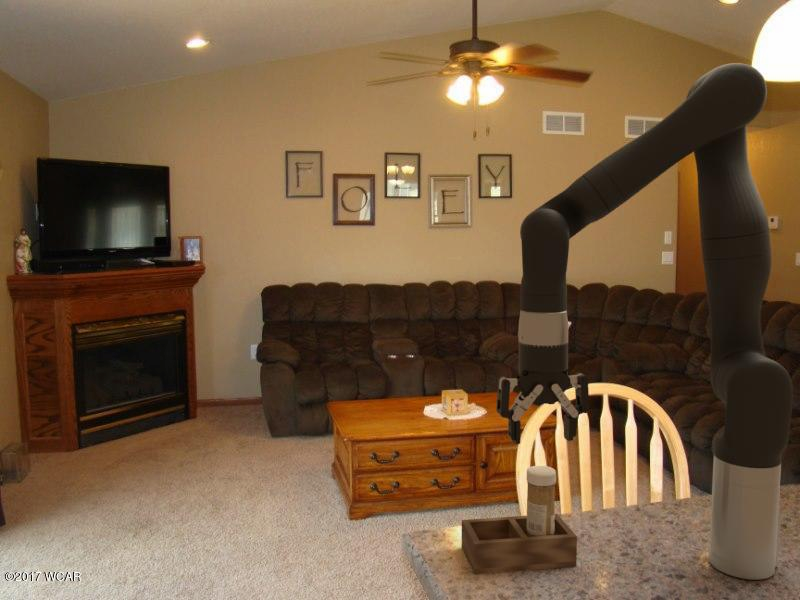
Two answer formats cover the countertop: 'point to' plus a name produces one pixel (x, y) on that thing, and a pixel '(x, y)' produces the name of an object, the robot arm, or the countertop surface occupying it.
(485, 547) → the spice caddy
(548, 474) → the sprinkles bottle
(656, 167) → the robot arm
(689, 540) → the countertop surface
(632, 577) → the countertop surface
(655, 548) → the countertop surface
